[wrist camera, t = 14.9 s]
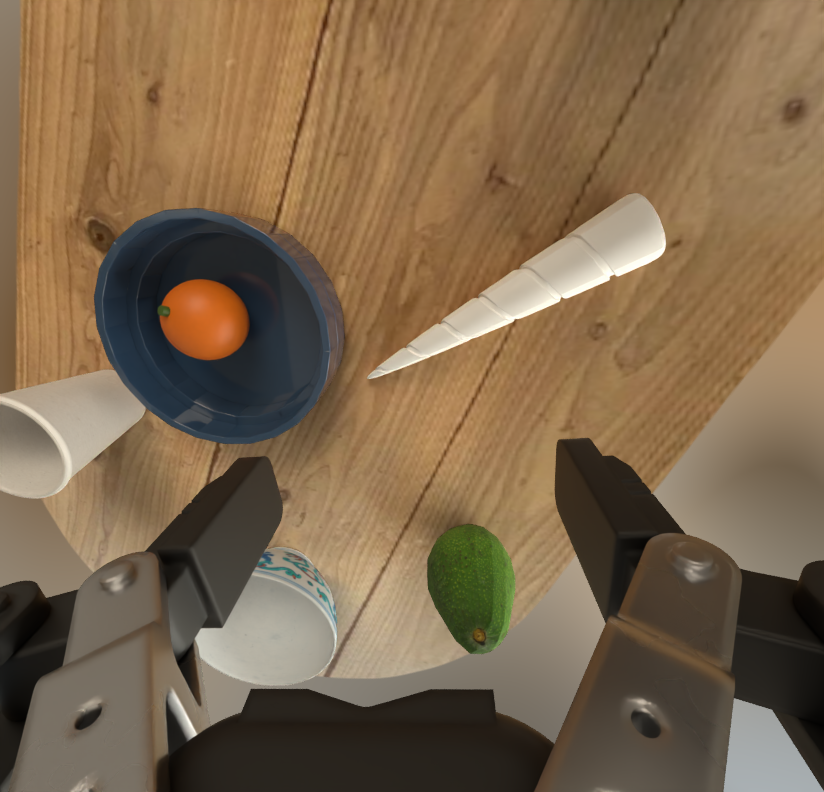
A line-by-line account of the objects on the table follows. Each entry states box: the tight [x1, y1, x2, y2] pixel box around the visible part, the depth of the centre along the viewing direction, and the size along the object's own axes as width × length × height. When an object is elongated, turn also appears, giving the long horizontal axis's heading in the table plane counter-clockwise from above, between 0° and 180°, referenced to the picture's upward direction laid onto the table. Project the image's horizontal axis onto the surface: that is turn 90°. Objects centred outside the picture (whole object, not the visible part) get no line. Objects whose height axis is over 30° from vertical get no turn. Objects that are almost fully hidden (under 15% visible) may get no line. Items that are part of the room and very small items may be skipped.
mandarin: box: [158, 279, 250, 360], centre depth 29 cm, size 6×6×6 cm
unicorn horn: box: [367, 193, 666, 379], centre depth 29 cm, size 5×24×5 cm, turn 118°
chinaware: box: [195, 547, 337, 686], centre depth 40 cm, size 15×15×8 cm
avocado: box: [427, 524, 515, 654], centre depth 35 cm, size 8×8×12 cm
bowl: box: [94, 208, 345, 444], centre depth 31 cm, size 17×17×6 cm
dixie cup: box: [0, 370, 146, 498], centre depth 32 cm, size 8×8×10 cm
